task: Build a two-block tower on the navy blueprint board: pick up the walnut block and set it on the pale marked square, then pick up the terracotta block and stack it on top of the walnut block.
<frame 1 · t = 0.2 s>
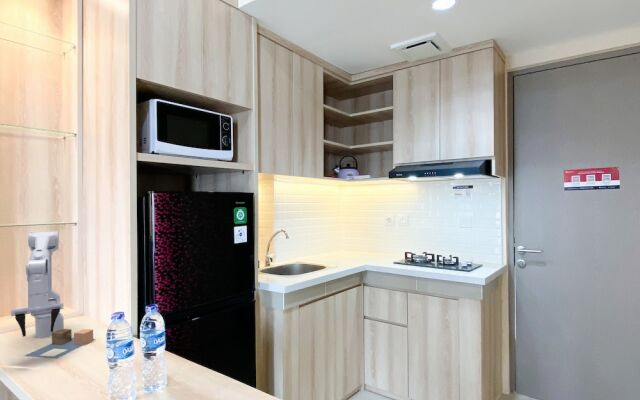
hand: (38, 333, 130), 10 cm above the countertop, tool pointing down, fingers open, 7 cm apart
walnut block: (61, 342, 147), point 1 cm above the countertop, touching blueprint board
blueprint board: (61, 349, 142), on the countertop
terracotta block: (83, 342, 146), point 1 cm above the countertop, touching blueprint board
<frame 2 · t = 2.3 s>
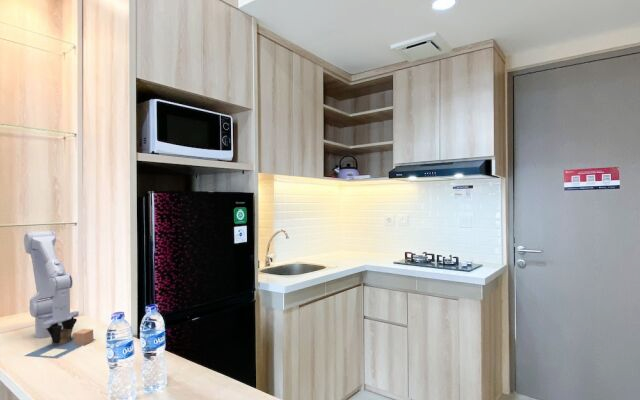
hand: (61, 340, 147), 2 cm above the countertop, tool pointing down, fingers closed on walnut block, 4 cm apart
walnut block: (61, 342, 147), point 1 cm above the countertop, touching blueprint board, gripper
everything else where it was.
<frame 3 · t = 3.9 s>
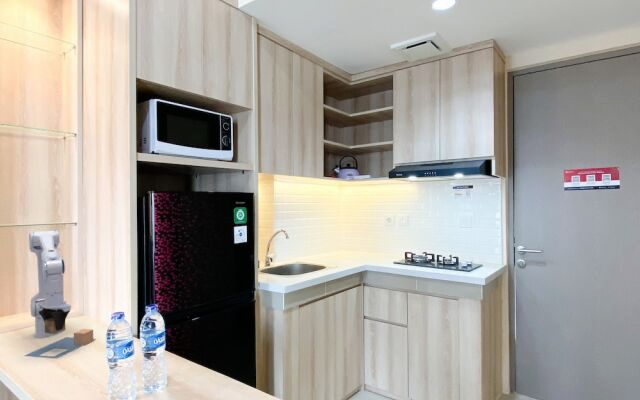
hand: (54, 328, 138), 9 cm above the countertop, tool pointing down, fingers closed on walnut block, 4 cm apart
walnut block: (55, 331, 138), point 8 cm above the countertop, touching gripper
everything else where it was.
when the fingers open (3 cm above the countertop, at t = 5.7 s): walnut block stays where it is, resting on blueprint board.
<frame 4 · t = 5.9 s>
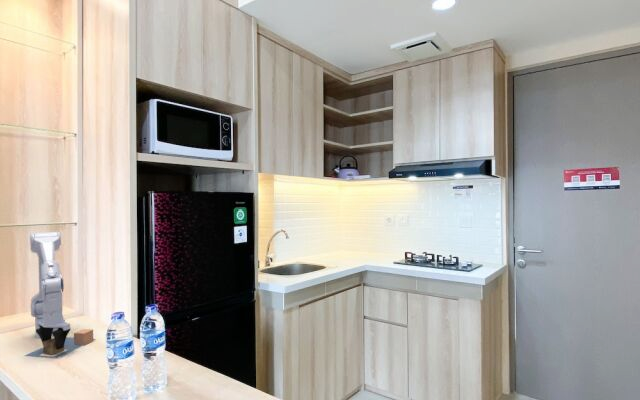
hand: (53, 347, 137), 3 cm above the countertop, tool pointing down, fingers open, 6 cm apart
walnut block: (54, 352, 137), point 1 cm above the countertop, touching blueprint board
everything else where it was.
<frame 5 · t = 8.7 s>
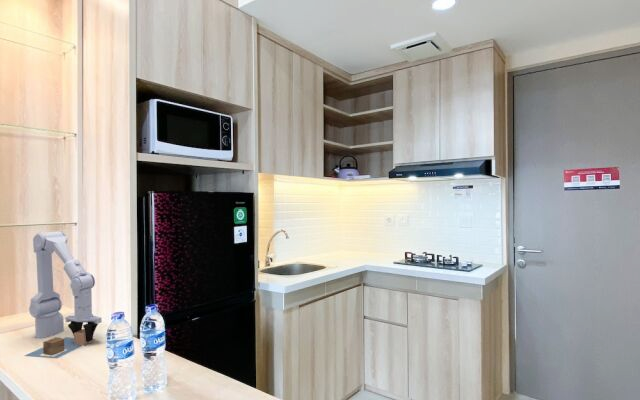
hand: (83, 340, 146), 2 cm above the countertop, tool pointing down, fingers closed on terracotta block, 4 cm apart
terracotta block: (83, 342, 146), point 1 cm above the countertop, touching blueprint board, gripper
everything else where it was.
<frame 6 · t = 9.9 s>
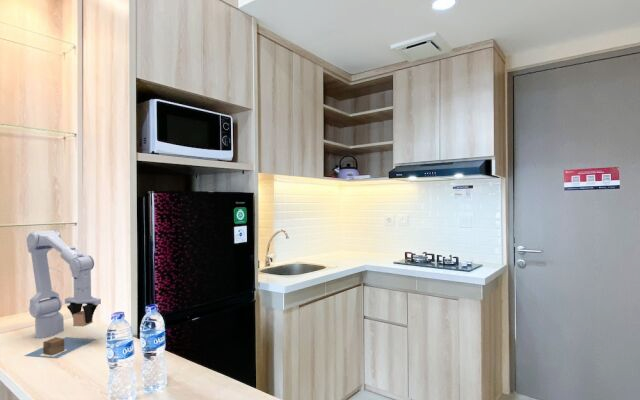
hand: (83, 322, 146), 9 cm above the countertop, tool pointing down, fingers closed on terracotta block, 4 cm apart
terracotta block: (83, 324, 146), point 8 cm above the countertop, touching gripper
everything else where it was.
when the fingers open (7 cm above the countertop, at t = 11.4 s): terracotta block stays where it is, resting on walnut block.
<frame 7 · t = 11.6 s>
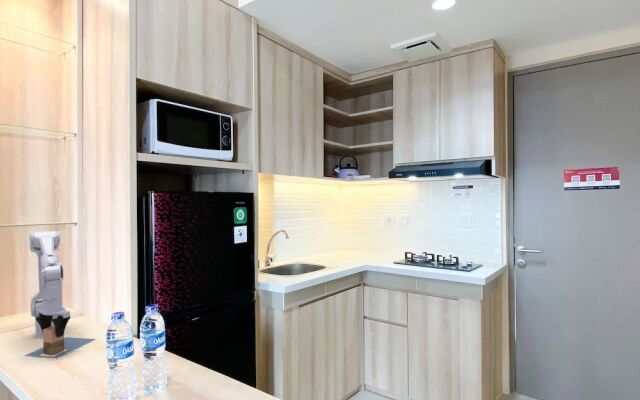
hand: (53, 335, 137), 7 cm above the countertop, tool pointing down, fingers open, 6 cm apart
walnut block: (54, 352, 137), point 1 cm above the countertop, touching blueprint board, terracotta block
terracotta block: (53, 340, 137), point 5 cm above the countertop, touching walnut block
everything else where it was.
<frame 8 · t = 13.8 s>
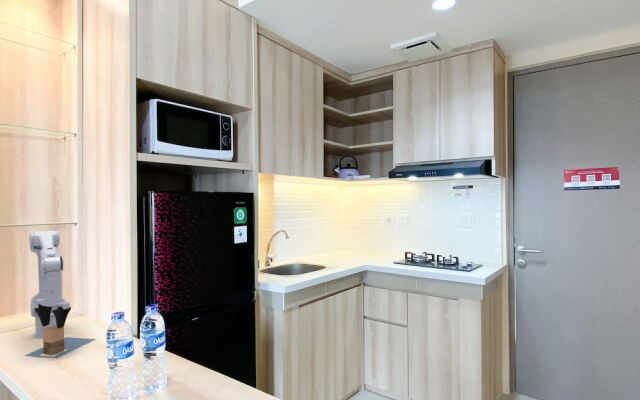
hand: (53, 326, 137), 10 cm above the countertop, tool pointing down, fingers open, 7 cm apart
nothing on the countertop moved.
at the end: walnut block 0.1 cm from the target spot on the blueprint board, point 0.9 cm above the blueprint board's base; terracotta block 0.0 cm off-centre on the walnut block, point 4.5 cm above the walnut block's base; terracotta block tilted 0° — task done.
